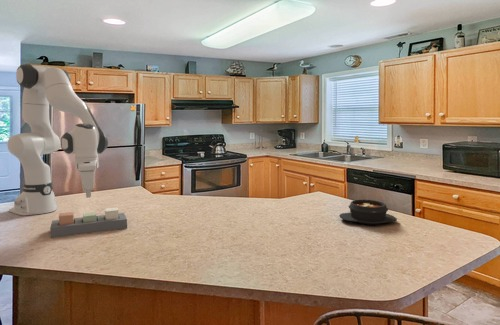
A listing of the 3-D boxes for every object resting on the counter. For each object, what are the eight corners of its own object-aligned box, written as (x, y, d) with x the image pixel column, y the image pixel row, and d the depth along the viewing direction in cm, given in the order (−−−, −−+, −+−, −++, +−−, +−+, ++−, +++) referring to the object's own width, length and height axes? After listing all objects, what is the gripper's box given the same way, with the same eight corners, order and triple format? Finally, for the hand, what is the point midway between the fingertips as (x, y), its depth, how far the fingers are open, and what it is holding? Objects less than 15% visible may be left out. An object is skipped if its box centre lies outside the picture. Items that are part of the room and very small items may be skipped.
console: (50, 238, 134) (50, 228, 133) (52, 229, 144) (52, 220, 143) (127, 228, 146) (126, 219, 145) (124, 221, 156) (124, 212, 155)
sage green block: (83, 228, 141) (82, 216, 141) (83, 225, 146) (82, 213, 145) (97, 226, 144) (96, 215, 143) (96, 223, 148) (95, 212, 147)
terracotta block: (59, 228, 138) (58, 216, 137) (60, 225, 142) (59, 213, 141) (73, 226, 140) (73, 214, 139) (74, 223, 144) (73, 211, 144)
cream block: (106, 223, 145) (105, 211, 144) (105, 220, 149) (104, 208, 149) (118, 221, 147) (118, 210, 146) (117, 218, 151) (117, 207, 151)
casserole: (345, 227, 148) (345, 208, 147) (334, 215, 166) (335, 198, 165) (403, 227, 148) (405, 208, 147) (387, 215, 166) (388, 198, 165)
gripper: (78, 161, 150) (80, 192, 152) (77, 167, 132) (79, 203, 133) (94, 160, 153) (96, 191, 154) (96, 166, 134) (97, 201, 136)
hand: (88, 196), depth 144 cm, fingers closed
